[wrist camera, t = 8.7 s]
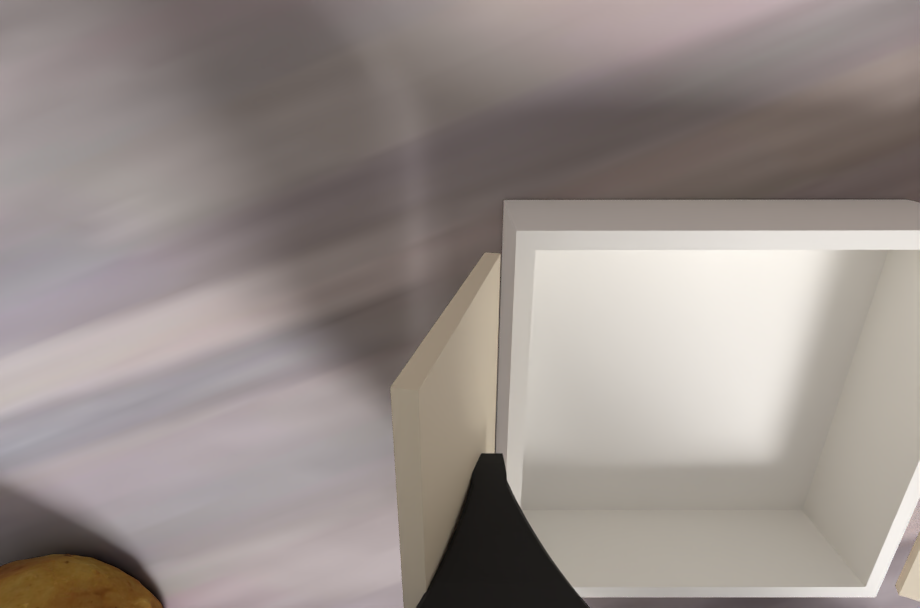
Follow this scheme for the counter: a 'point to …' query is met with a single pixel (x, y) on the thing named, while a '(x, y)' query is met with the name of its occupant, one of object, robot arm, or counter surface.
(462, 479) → the front flap
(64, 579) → the bread roll
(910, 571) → the back flap
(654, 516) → the carton
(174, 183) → the counter surface
